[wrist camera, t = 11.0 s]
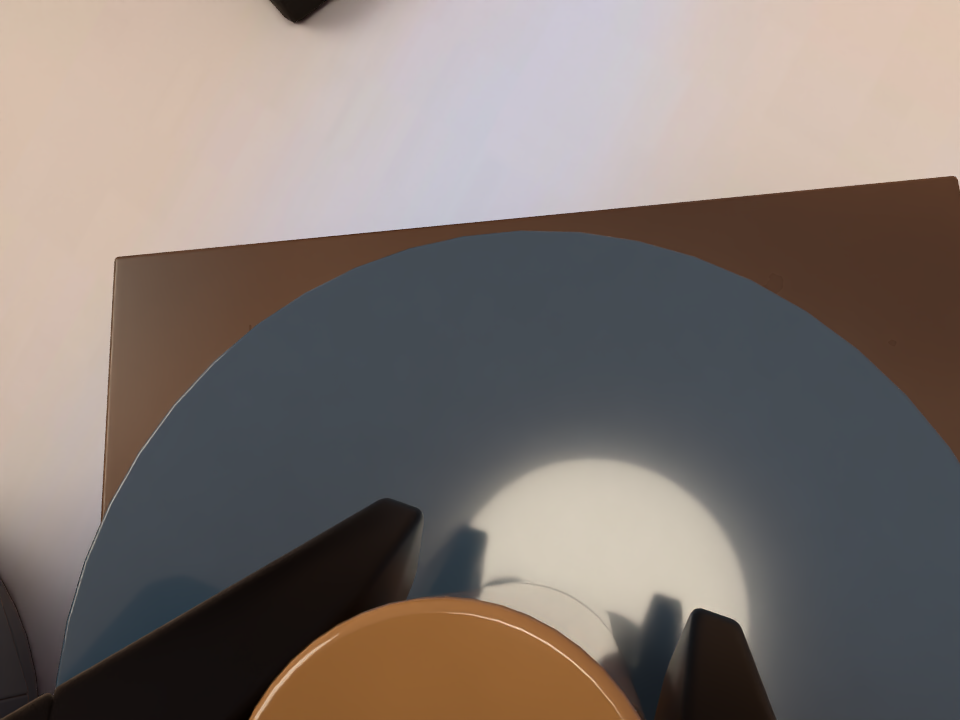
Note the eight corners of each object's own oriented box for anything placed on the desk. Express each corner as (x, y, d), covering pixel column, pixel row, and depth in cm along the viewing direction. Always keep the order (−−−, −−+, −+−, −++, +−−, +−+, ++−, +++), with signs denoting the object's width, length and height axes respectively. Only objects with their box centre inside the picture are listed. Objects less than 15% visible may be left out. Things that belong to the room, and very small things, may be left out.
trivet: (1044, 1110, 13) (1170, 1264, 10) (166, 1094, 15) (60, 1222, 12) (895, 241, 16) (959, 173, 14) (190, 305, 18) (112, 255, 15)
